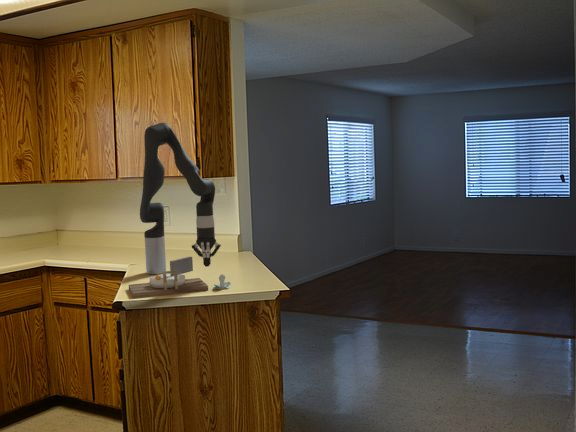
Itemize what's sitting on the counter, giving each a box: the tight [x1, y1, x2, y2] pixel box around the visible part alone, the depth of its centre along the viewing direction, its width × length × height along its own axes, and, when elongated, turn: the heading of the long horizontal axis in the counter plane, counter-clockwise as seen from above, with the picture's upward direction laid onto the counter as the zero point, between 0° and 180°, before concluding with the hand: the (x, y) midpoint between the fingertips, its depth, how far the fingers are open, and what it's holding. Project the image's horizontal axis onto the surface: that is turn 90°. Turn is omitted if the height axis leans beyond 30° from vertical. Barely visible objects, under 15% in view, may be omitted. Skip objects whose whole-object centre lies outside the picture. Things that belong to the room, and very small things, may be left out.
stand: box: [128, 270, 209, 299], centre depth 270 cm, size 18×30×9 cm, turn 109°
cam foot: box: [149, 256, 194, 288], centre depth 273 cm, size 23×14×9 cm, turn 149°
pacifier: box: [212, 273, 232, 290], centre depth 270 cm, size 7×6×6 cm
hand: (207, 266), depth 280 cm, fingers closed
